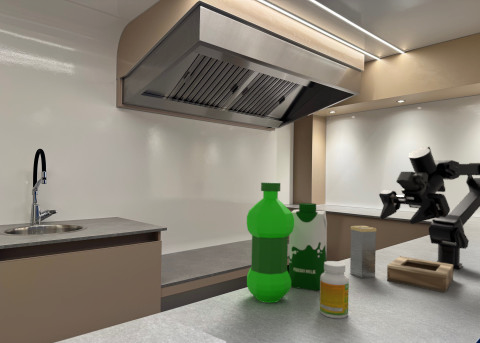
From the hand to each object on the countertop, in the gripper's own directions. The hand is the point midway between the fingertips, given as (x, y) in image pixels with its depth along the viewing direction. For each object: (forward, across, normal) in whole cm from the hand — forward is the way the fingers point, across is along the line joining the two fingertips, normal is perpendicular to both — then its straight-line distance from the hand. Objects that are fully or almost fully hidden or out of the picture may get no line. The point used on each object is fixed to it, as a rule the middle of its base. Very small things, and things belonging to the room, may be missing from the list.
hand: (395, 220), depth 92 cm
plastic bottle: (+42, -1, -10) cm, 43 cm away
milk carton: (+31, -4, -2) cm, 31 cm away
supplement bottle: (+36, +12, -6) cm, 38 cm away
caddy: (+6, +6, +14) cm, 16 cm away
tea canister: (+15, -4, +8) cm, 17 cm away
